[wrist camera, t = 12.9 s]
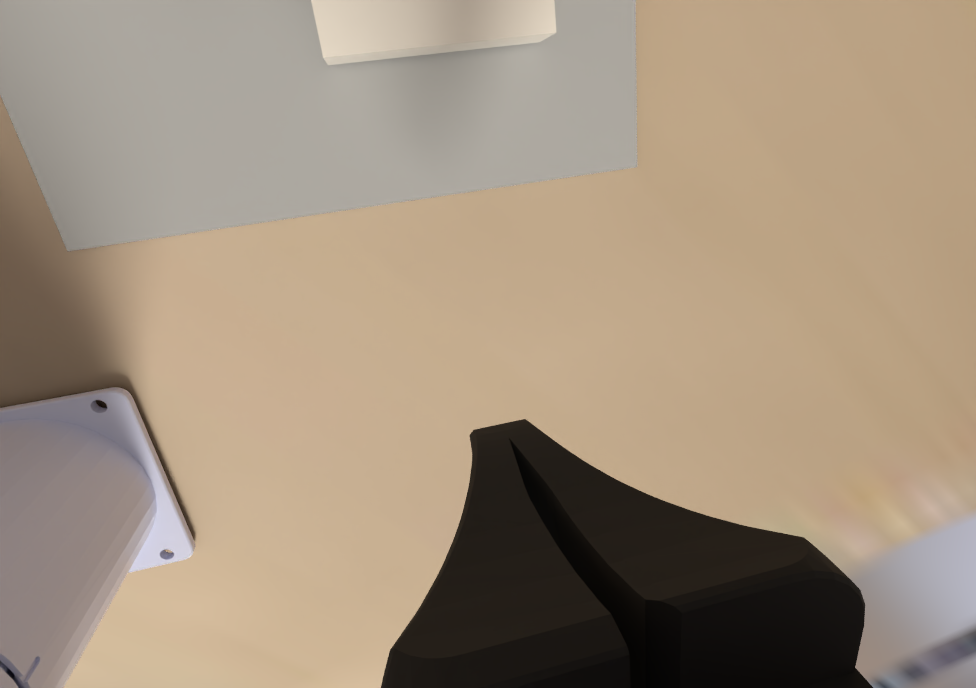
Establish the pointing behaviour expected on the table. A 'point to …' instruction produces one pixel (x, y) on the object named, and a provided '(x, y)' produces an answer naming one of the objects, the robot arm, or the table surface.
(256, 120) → the mat
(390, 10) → the tile
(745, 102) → the table surface
